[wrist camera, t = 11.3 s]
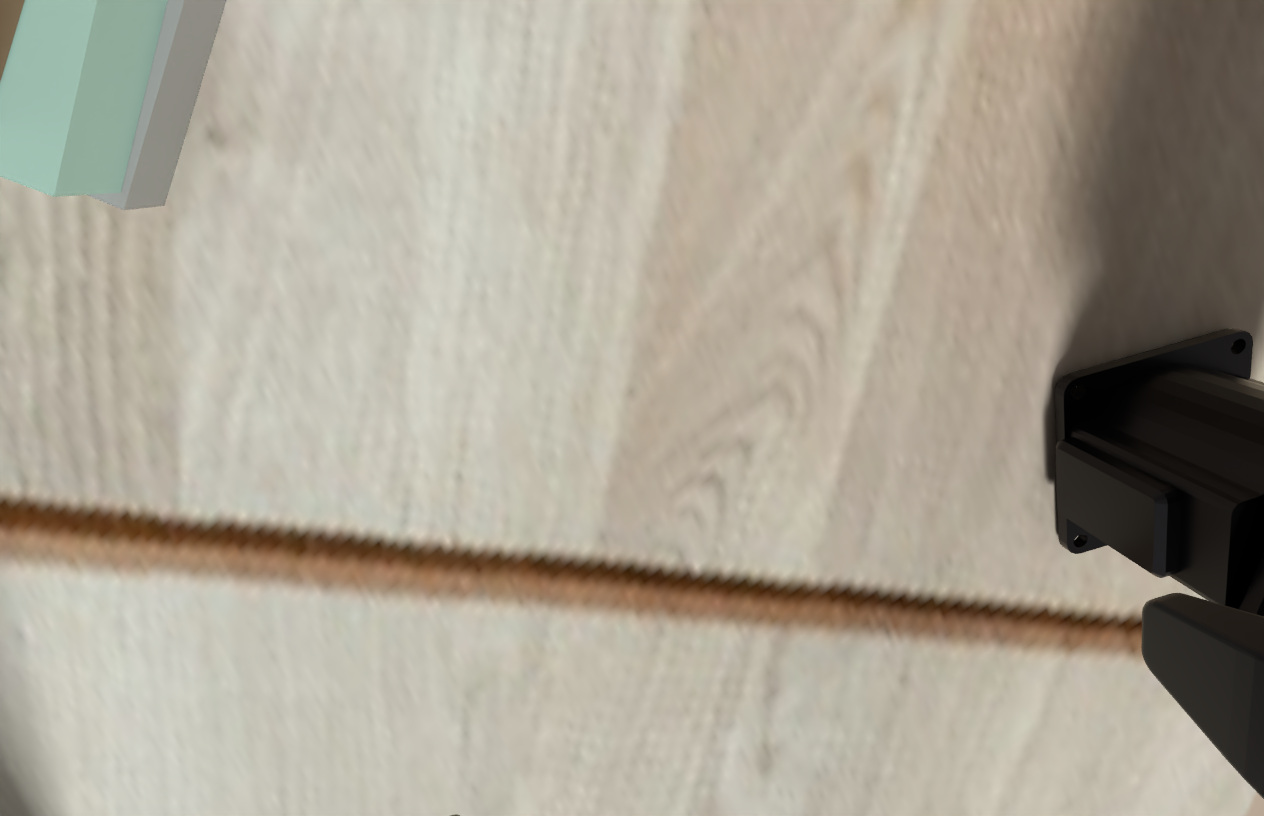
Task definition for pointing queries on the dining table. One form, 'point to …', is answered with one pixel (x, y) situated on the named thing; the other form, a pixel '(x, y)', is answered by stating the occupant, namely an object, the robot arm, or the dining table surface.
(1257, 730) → the robot arm
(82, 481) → the dining table surface
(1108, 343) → the dining table surface
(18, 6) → the walnut pillar block
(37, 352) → the dining table surface
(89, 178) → the teal slab
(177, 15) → the grey slab
